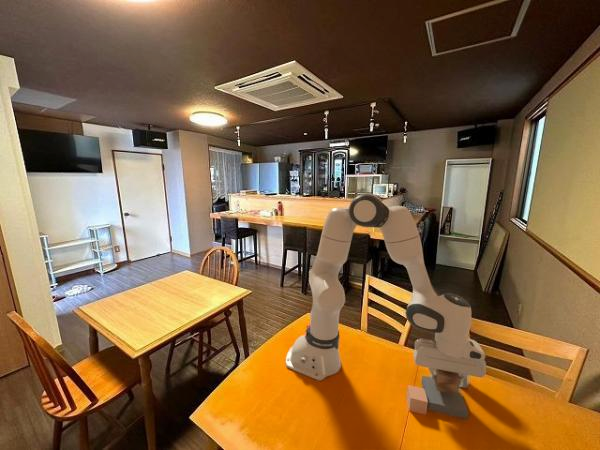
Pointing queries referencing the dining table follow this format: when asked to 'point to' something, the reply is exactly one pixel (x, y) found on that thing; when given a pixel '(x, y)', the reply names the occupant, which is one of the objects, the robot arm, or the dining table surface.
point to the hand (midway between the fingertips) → (445, 379)
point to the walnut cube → (447, 381)
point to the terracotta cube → (417, 399)
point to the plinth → (444, 400)
